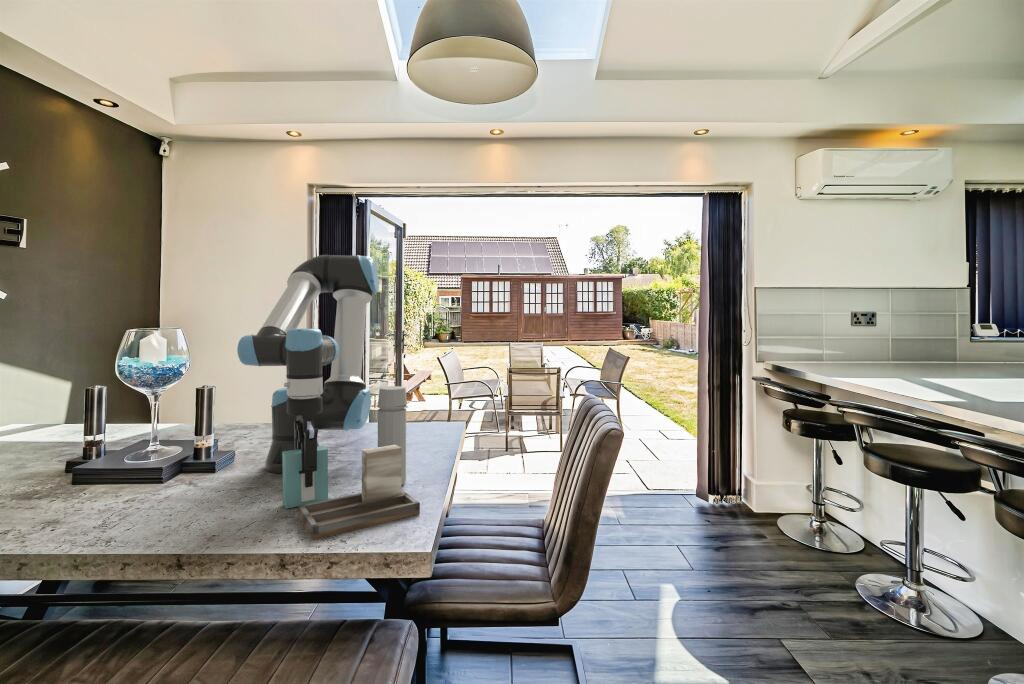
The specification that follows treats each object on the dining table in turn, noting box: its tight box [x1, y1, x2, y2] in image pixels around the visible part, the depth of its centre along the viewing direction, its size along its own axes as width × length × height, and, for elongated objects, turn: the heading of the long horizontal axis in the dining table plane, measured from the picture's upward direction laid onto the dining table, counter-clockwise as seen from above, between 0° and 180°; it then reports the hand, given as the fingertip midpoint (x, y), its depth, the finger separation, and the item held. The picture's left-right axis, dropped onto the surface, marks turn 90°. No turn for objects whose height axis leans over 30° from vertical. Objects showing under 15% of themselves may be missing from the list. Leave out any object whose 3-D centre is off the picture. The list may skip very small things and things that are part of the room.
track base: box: [297, 445, 421, 541], centre depth 101 cm, size 13×22×13 cm, turn 126°
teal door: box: [282, 445, 329, 510], centre depth 108 cm, size 4×9×12 cm, turn 126°
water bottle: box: [376, 385, 409, 486], centre depth 122 cm, size 9×8×25 cm
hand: (305, 496), depth 108 cm, fingers closed on teal door, 3 cm apart
